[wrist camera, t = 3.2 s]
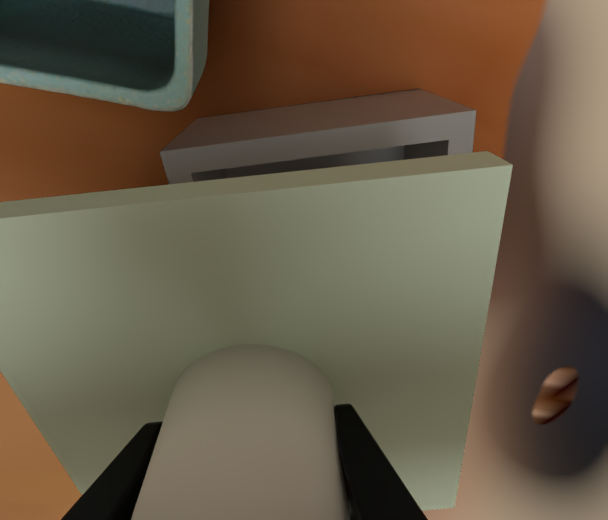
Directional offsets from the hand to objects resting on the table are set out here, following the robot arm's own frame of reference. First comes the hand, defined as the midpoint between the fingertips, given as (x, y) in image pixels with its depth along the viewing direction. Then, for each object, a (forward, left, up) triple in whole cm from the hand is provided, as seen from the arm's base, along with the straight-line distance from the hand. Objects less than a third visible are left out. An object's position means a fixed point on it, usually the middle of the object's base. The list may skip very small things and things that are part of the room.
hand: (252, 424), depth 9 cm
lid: (0, 0, -2) cm, 2 cm away
